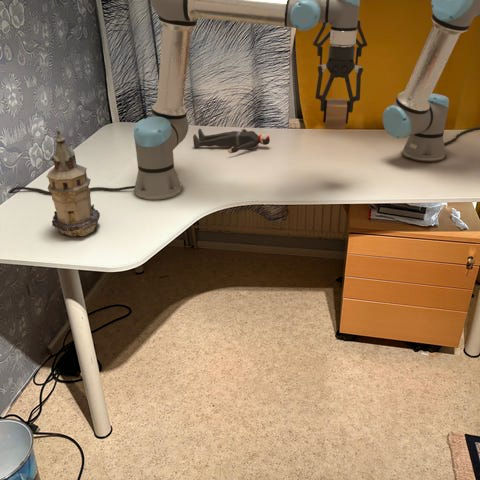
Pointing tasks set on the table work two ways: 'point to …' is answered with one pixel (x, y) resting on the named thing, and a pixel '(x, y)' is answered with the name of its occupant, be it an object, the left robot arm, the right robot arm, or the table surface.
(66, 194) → the miniature building
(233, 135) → the toy
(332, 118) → the brick
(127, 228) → the table surface
